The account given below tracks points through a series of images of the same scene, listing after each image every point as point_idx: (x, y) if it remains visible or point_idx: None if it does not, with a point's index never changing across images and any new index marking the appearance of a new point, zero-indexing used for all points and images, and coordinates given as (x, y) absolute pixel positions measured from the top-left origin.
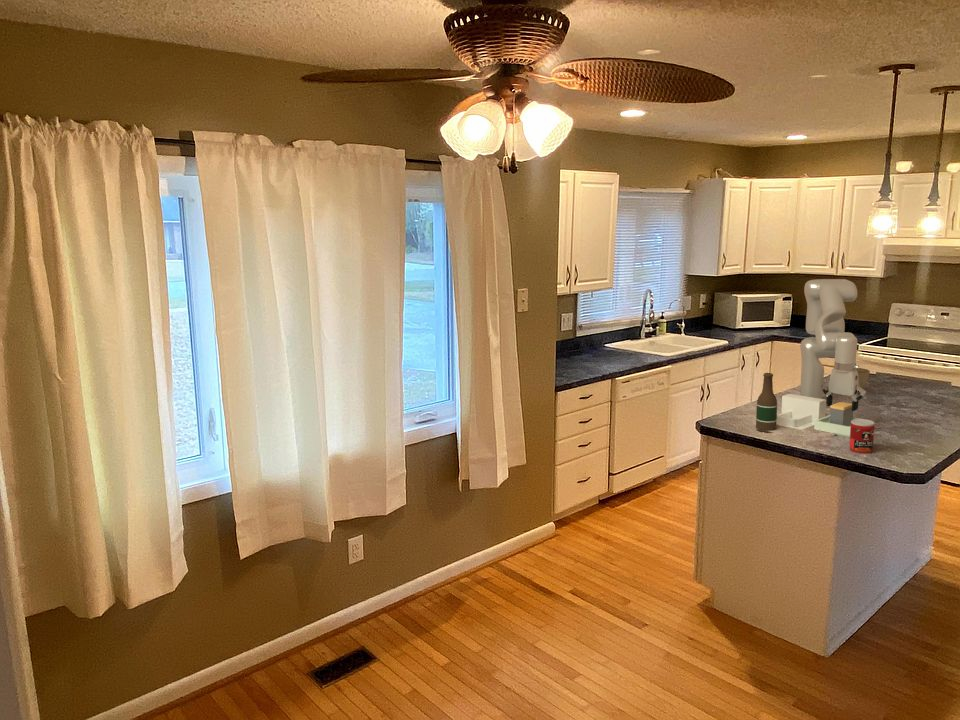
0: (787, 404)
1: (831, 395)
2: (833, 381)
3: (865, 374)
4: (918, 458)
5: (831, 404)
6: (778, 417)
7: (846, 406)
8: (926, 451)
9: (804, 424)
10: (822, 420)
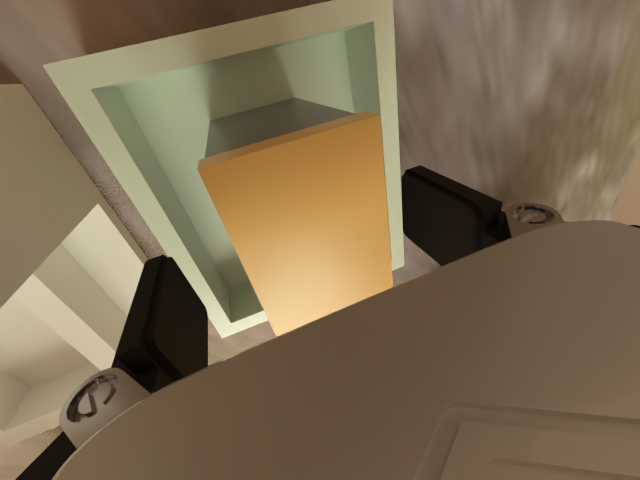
0: None
1: (155, 377)
2: None
3: None
4: (581, 212)
5: (179, 273)
6: (35, 432)
7: (388, 281)
8: (609, 122)
9: (110, 295)
10: (207, 276)
